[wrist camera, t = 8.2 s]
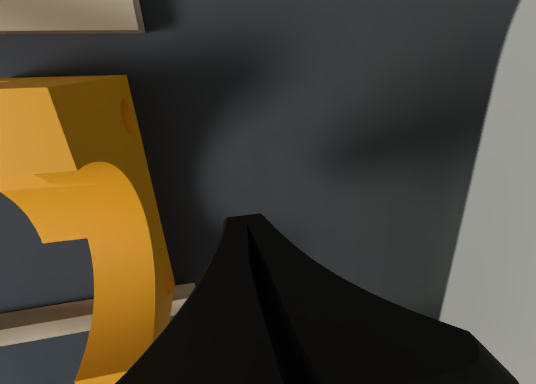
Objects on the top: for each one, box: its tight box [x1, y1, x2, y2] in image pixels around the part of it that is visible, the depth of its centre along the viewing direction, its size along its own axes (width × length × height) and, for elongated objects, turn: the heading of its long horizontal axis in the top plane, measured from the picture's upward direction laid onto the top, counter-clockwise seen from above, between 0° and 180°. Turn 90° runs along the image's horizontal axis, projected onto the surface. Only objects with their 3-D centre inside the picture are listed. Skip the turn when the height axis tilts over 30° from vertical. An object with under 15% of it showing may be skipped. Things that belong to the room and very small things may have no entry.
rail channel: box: [0, 0, 195, 346], centre depth 12 cm, size 16×12×1 cm
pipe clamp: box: [0, 75, 175, 384], centre depth 11 cm, size 12×4×6 cm, turn 1°
